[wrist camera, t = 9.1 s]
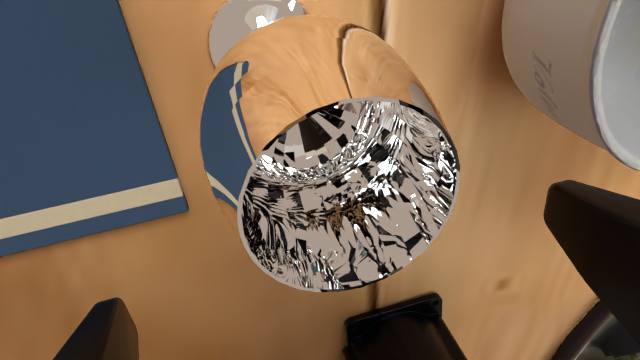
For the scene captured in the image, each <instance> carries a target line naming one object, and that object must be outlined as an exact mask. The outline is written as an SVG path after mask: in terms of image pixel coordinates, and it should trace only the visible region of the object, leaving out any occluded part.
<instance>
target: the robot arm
mask: <svg viewBox="0 0 640 360" xmlns="http://www.w3.org/2000/svg"><path fill="white" fill-rule="evenodd" d="M544 220H545V223H546V225H547V227H548V228H549V230H550V231H551V233H552V234H553V236H554V237H555V239H556V240H557V241H558V243H559V244H560V246H561V247H562V249H563V250H564V252H565V253H566V255H567V256H568V258H569V259H570V260H571V262H572V263H573V265H574V266H575V268H576V269H577V271H578V272H579V273H580V275H581V276H582V278H583V279H584V280H585V282H586V283H587V284H588V285H589V287H590V288H591V289H592V290H593V292H594V293H595V294H596V295H597V296H598V298H599V299H600V300H601V301H602V302H603V303H604V305H605V306H606V307H607V308H608V309H609V311H610V312H611V313H612V314H613V315H614V317H615V318H616V319H617V320H618V321H619V322H620V324H621V325H622V326H623V327H624V328H625V330H626V331H627V332H628V333H629V334H630V336H631V337H632V338H633V339H634V340H635V341H636V343H637V344H638V345H639V346H640V200H638V199H635V198H631V197H628V196H624V195H621V194H618V193H614V192H611V191H607V190H604V189H600V188H597V187H594V186H590V185H587V184H583V183H580V182H576V181H573V180H565V181H561V182H557V183H554V184H552V185H551V186H550V187H549V189H548V193H547V198H546V204H545V209H544ZM344 326H345V333H346V341H347V346H344V348H343V350H342V352H343V359H344V360H467V358H466V357H465V355H464V353H463V352H462V350H461V349H460V347H459V345H458V344H457V342H456V340H455V339H454V337H453V336H452V334H451V332H450V331H449V329H448V327H447V326H446V324H445V323H444V321H443V319H442V299H441V297H440V296H439V294H437V293H432V294H429V295H425V296H422V297H419V298H415V299H412V300H408V301H405V302H401V303H398V304H394V305H391V306H388V307H384V308H381V309H377V310H374V311H370V312H367V313H363V314H360V315H357V316H353V317H350V318H348V319H347V320H346V321H345V323H344ZM53 360H139V348H138V333H137V329H136V326H135V324H134V322H133V320H132V318H131V316H130V314H129V312H128V310H127V308H126V306H125V304H124V302H123V301H122V300H121V298H112V299H108V300H105V301H101V302H98V303H97V304H95V305H94V306H93V308H92V309H91V310H90V312H89V313H88V314H87V316H86V317H85V318H84V320H83V321H82V322H81V323H80V325H79V326H78V327H77V329H76V330H75V331H74V333H73V334H72V335H71V336H70V338H69V339H68V340H67V342H66V343H65V344H64V346H63V347H62V348H61V350H60V351H59V352H58V353H57V355H56V356H55V357H54V359H53Z"/></svg>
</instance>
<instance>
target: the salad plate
mask: <svg viewBox="0 0 640 360" xmlns="http://www.w3.org/2000/svg"><path fill="white" fill-rule="evenodd" d="M553 360H640V346H639V345H638V344H637V343H636V341H635V340H634V339H633V338H632V337H631V336H630V334H629V333H628V332H627V331H626V330H625V328H624V327H623V326H622V325H621V324H620V322H619V321H618V320H617V319H616V318H615V317H614V315H613V314H612V313H611V312H610V311H609V309H608V308H607V307H606V306H605V305H604V303H603V302H602V301H600V302H599V303H598V304H597V305H596V306H595V307H594V308H593V309H592V310H591V311H590V312H589V313H588V314H587V316H586V317H585V318H584V319H583V320H582V321H581V322H580V323H579V324H578V325H577V327H576V328H575V329H574V330H573V331H572V332H571V333H570V334H569V335H568V337H567V338H566V339H565V341H564V342H563V343H562V345H561V346H560V348H559V349H558V351H557V352H556V354H555V356H554V358H553Z"/></svg>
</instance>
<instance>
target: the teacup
mask: <svg viewBox="0 0 640 360" xmlns="http://www.w3.org/2000/svg"><path fill="white" fill-rule="evenodd" d="M502 44H503V52H504V57H505V61H506V64H507V67H508V70H509V72H510V74H511V77H512V79H513V81H514V83H515V84H516V86H517V87H518V89H519V90H520V91H521V93H522V94H523V95H524V96H525V98H526V99H527V100H528V101H529V102H530V103H531V104H532V105H534V106H535V107H536V108H537V109H538V110H540V111H541V112H542V113H544V114H545V115H547V116H548V117H549V118H551V119H552V120H554V121H556V122H557V123H559V124H560V125H562V126H564V127H565V128H567V129H569V130H570V131H572V132H574V133H575V134H577V135H579V136H581V137H582V138H584V139H586V140H588V141H590V142H592V143H593V144H595V145H597V146H599V147H601V148H603V149H605V150H607V151H608V152H609V153H610V154H611V155H612V156H614V157H615V158H616V159H617V160H618V161H620V162H621V163H623V164H625V165H627V166H628V167H630V168H632V169H634V170H639V171H640V0H505V3H504V9H503V16H502Z"/></svg>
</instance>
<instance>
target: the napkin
mask: <svg viewBox="0 0 640 360" xmlns="http://www.w3.org/2000/svg"><path fill="white" fill-rule="evenodd" d="M187 211H188V204H187V201H186V198H185V195H184V192H183V189H182V186H181V183H180V181H179V178H178V175H177V172H176V169H175V166H174V163H173V160H172V157H171V154H170V151H169V148H168V145H167V142H166V140H165V137H164V134H163V131H162V128H161V125H160V122H159V119H158V116H157V113H156V110H155V107H154V104H153V101H152V99H151V96H150V93H149V90H148V87H147V84H146V81H145V78H144V75H143V72H142V69H141V66H140V63H139V60H138V58H137V55H136V52H135V49H134V46H133V43H132V40H131V37H130V34H129V31H128V28H127V25H126V22H125V19H124V17H123V14H122V11H121V8H120V5H119V2H118V0H0V257H1V256H5V255H9V254H13V253H18V252H22V251H26V250H30V249H34V248H38V247H42V246H46V245H51V244H55V243H59V242H63V241H67V240H71V239H75V238H80V237H84V236H88V235H92V234H96V233H100V232H104V231H109V230H113V229H117V228H121V227H125V226H129V225H133V224H137V223H142V222H146V221H150V220H154V219H158V218H162V217H166V216H171V215H175V214H179V213H183V212H187Z"/></svg>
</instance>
